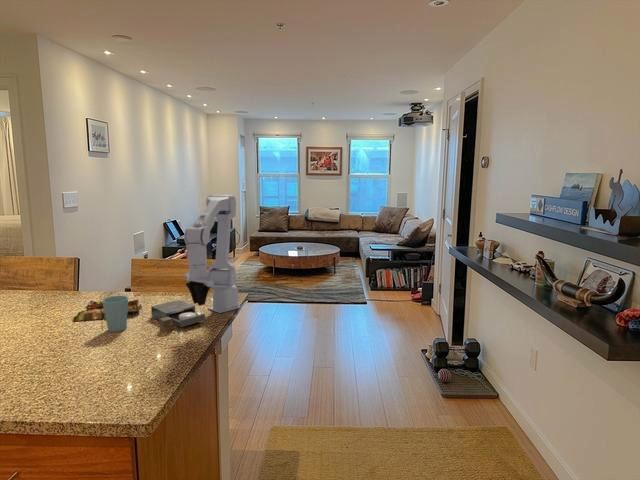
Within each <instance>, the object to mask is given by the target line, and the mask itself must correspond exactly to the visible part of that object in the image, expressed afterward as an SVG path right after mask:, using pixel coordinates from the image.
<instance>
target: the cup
mask: <svg viewBox="0 0 640 480" xmlns="http://www.w3.org/2000/svg"><path fill="white" fill-rule="evenodd" d="M101 302H102V303H103V307H104V312H105V317H106V321H105V322H106V326H107V330H108V332H110V333H119V332H121V331H124V330H127V328H128V327H127V325H128V312H127V310H128V302H129V296H127V295H114V296H109V297H105V298H103V299H102V300H101Z"/></svg>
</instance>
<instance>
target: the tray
mask: <svg viewBox="0 0 640 480" xmlns="http://www.w3.org/2000/svg"><path fill="white" fill-rule="evenodd" d="M188 312H191V313H194V312H192V311H186V312H182V313H188ZM182 313H178V314H175V315H171V316H169V317H170V318H172V319H173V325H177V326H179V328H180V327H181V328H183V327H187V326H191V325H194V324H196V323H200V322H204V321H206V314H205V313H201V314H199V313H197V312H195V314H196V316H193V317H189V318H186V319H182V320H180V321H179V315H180V314H182Z"/></svg>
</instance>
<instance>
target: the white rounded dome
mask: <svg viewBox="0 0 640 480" xmlns="http://www.w3.org/2000/svg"><path fill="white" fill-rule="evenodd" d="M195 313H196V312H195ZM195 313H191V312H188V313H182V314H180V315H179V321H180V320H182V319H186V318H189V317H193V316H196V314H195Z"/></svg>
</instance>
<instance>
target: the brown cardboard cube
mask: <svg viewBox="0 0 640 480" xmlns="http://www.w3.org/2000/svg"><path fill="white" fill-rule="evenodd" d="M158 322H159V331H160V332H162V333H168V332H172V331H173V330H174V323H173V319H172V318H170V317H165V318H161V319H159V321H158Z"/></svg>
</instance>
